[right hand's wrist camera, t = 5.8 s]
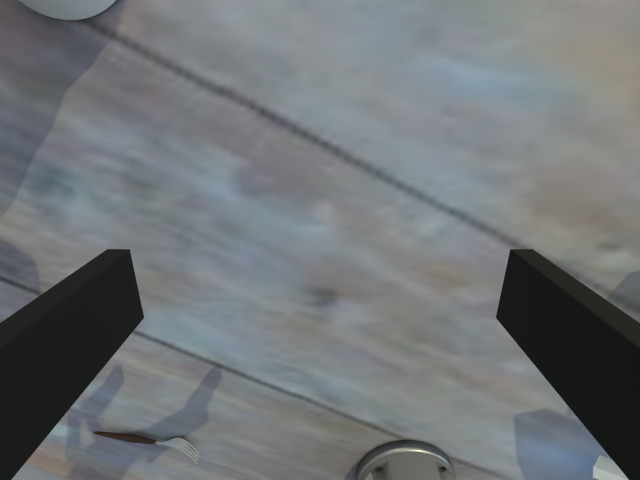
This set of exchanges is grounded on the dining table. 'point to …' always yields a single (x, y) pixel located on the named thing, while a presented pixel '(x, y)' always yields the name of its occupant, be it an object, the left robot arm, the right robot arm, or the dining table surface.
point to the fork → (154, 442)
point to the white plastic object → (607, 470)
